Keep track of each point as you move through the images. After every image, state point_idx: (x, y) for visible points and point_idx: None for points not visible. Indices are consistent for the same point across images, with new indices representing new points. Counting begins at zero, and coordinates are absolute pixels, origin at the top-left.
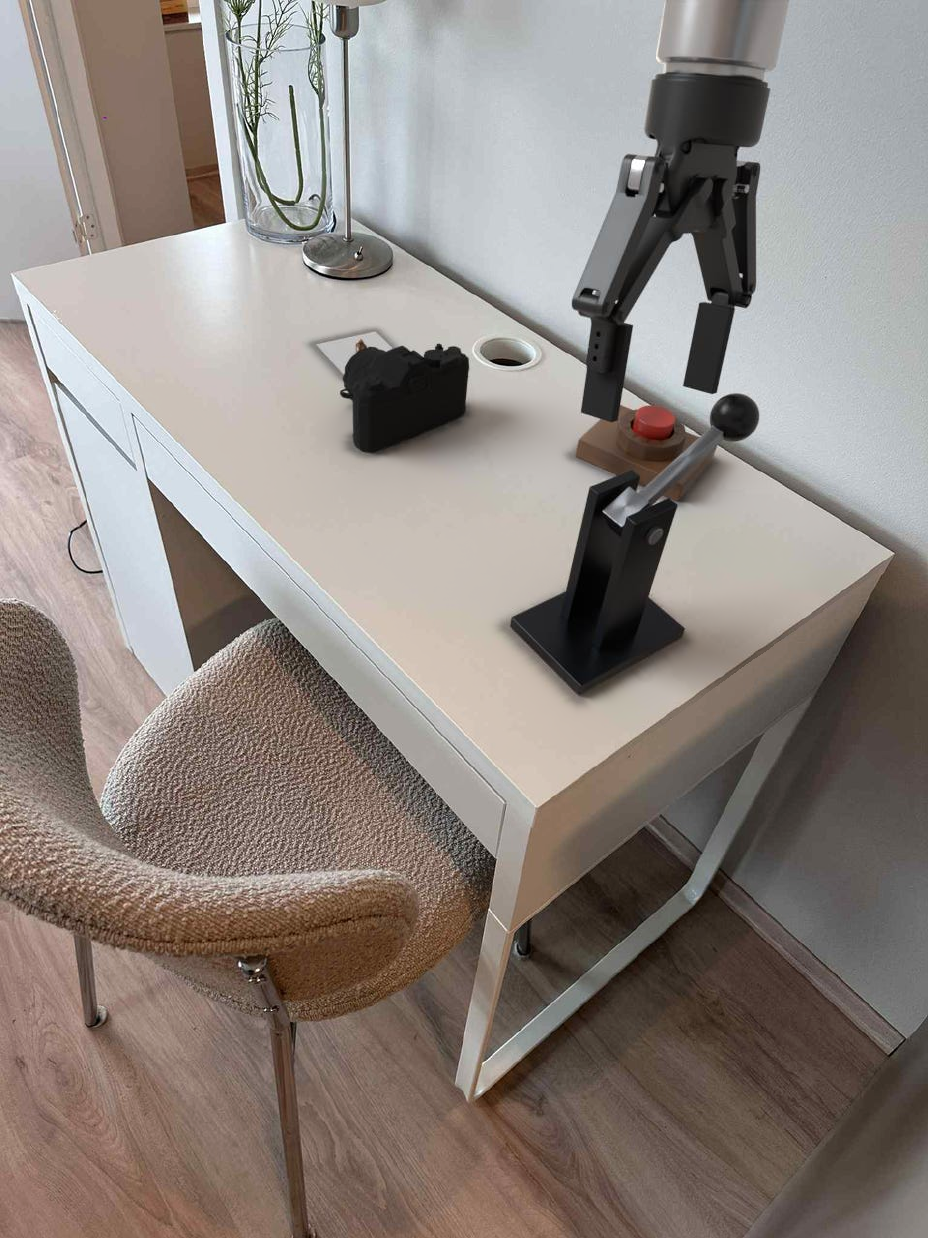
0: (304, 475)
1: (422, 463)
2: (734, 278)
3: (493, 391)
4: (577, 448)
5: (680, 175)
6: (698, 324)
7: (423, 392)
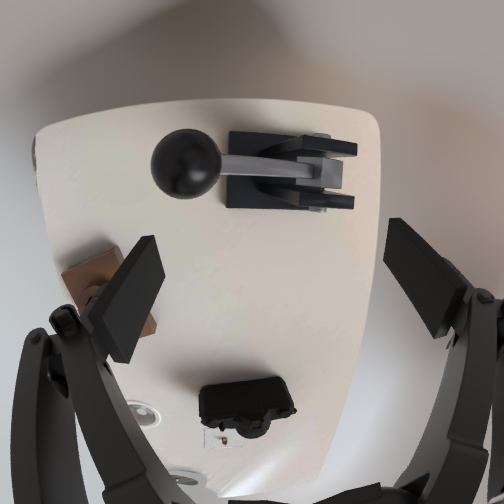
0: (321, 370)
1: (259, 360)
2: (80, 365)
3: (169, 395)
4: (155, 328)
5: None
6: (136, 332)
7: (246, 403)
